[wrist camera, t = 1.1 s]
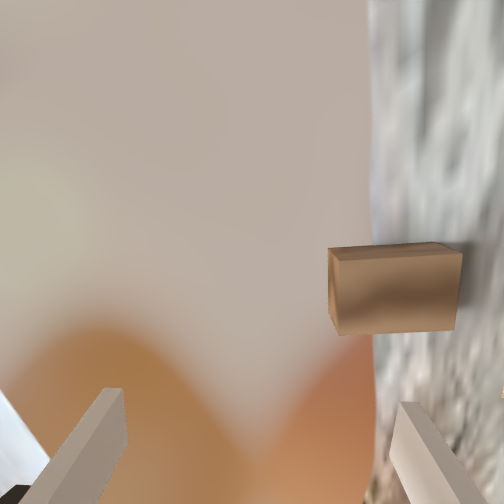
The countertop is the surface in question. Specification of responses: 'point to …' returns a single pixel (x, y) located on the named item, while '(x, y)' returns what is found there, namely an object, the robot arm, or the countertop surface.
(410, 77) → the countertop surface
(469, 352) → the countertop surface
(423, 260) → the block
